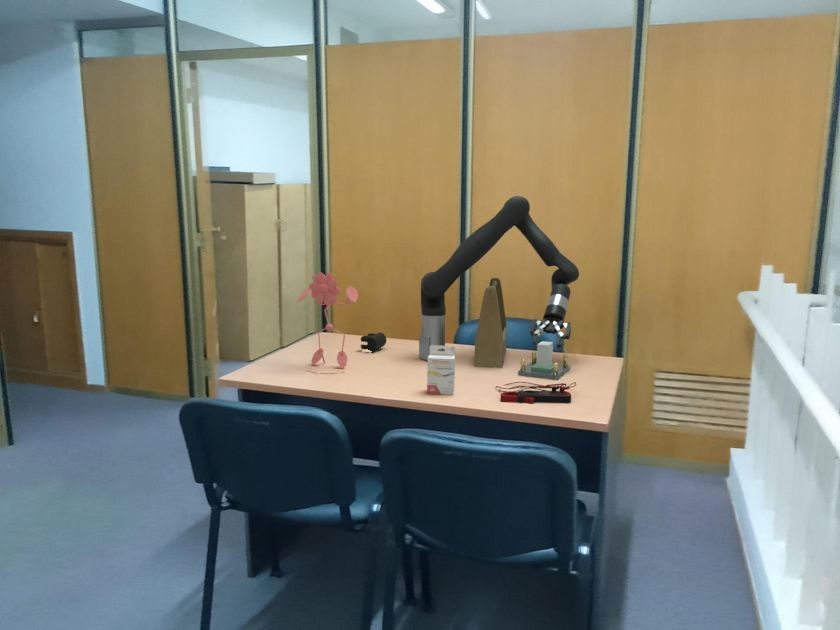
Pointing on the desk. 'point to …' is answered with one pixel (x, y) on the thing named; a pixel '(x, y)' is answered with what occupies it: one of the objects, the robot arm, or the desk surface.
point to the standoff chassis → (554, 374)
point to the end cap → (373, 341)
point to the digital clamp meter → (537, 394)
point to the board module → (544, 357)
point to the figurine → (326, 293)
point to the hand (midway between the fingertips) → (546, 345)
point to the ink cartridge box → (441, 370)
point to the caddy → (491, 328)
